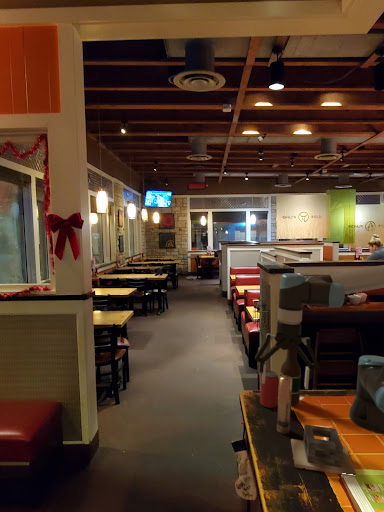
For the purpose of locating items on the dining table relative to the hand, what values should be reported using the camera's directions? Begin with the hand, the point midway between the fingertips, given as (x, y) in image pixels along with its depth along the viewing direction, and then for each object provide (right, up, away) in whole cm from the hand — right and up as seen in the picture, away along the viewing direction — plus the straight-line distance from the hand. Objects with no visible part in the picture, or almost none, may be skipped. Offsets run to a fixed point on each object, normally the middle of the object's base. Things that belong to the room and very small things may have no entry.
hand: (284, 384), depth 114 cm
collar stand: (+7, -17, -12) cm, 22 cm away
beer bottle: (+8, -15, +22) cm, 27 cm away
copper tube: (0, -16, +1) cm, 16 cm away
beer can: (-1, -14, +18) cm, 23 cm away
